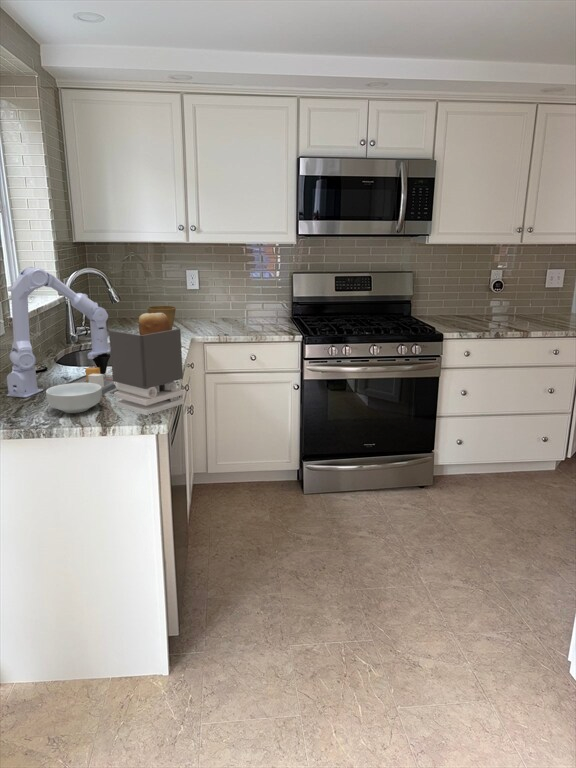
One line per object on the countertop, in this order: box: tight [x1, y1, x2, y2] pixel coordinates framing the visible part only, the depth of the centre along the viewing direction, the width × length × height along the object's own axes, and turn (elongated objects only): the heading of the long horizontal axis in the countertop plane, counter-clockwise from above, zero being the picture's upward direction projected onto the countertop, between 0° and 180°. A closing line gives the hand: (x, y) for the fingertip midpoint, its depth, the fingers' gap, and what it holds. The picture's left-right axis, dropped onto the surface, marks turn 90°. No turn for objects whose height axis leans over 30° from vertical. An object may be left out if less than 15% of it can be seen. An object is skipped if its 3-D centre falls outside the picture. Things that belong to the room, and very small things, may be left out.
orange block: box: [85, 366, 100, 381], centre depth 210 cm, size 3×4×4 cm
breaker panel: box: [73, 374, 116, 395], centre depth 206 cm, size 21×16×6 cm
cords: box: [65, 374, 119, 395], centre depth 210 cm, size 19×22×1 cm
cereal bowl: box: [45, 383, 103, 414], centre depth 180 cm, size 17×17×7 cm
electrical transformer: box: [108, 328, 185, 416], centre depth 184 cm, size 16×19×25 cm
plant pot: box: [146, 305, 176, 330], centre depth 304 cm, size 15×15×16 cm
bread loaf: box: [138, 312, 170, 335], centre depth 221 cm, size 14×13×25 cm
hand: (102, 373), depth 216 cm, fingers closed
